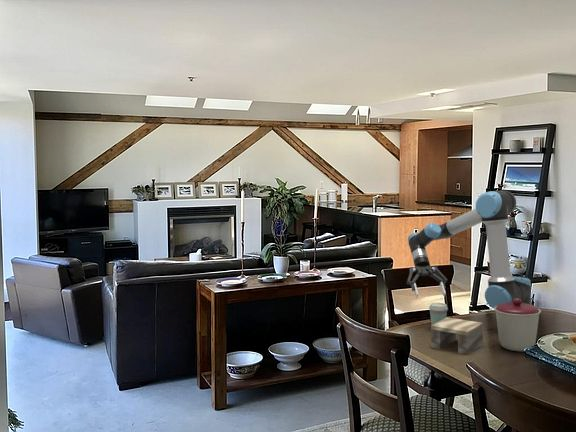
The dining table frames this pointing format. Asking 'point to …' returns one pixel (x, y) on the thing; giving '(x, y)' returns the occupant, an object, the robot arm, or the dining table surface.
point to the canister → (517, 324)
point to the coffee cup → (437, 312)
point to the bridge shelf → (466, 330)
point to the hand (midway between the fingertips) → (430, 295)
